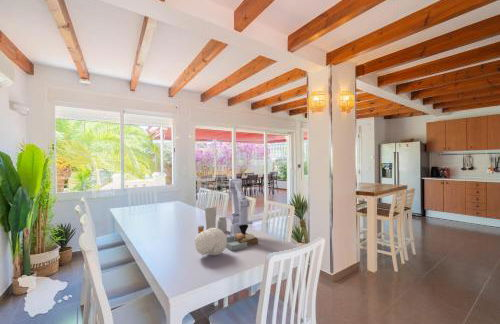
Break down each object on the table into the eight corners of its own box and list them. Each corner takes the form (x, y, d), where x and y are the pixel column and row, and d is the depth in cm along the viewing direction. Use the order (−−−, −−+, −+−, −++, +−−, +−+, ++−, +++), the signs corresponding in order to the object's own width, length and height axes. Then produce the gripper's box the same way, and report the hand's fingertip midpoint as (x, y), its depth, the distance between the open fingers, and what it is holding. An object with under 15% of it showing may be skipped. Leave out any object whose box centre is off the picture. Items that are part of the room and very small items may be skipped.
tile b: (245, 237, 165) (245, 234, 165) (250, 236, 168) (250, 233, 168) (248, 239, 161) (248, 236, 161) (254, 238, 164) (254, 235, 164)
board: (234, 240, 170) (234, 235, 170) (246, 238, 176) (246, 233, 176) (246, 246, 158) (246, 240, 158) (257, 243, 164) (257, 238, 164)
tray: (220, 244, 163) (220, 238, 163) (234, 240, 170) (234, 235, 170) (232, 251, 150) (232, 245, 150) (247, 247, 157) (247, 242, 157)
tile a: (235, 236, 167) (235, 233, 167) (240, 235, 169) (240, 232, 169) (238, 238, 163) (238, 235, 163) (243, 237, 166) (243, 234, 165)
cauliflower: (214, 248, 156) (214, 223, 156) (233, 255, 145) (233, 228, 145) (188, 257, 140) (189, 229, 140) (208, 266, 129) (208, 236, 129)
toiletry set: (223, 229, 198) (223, 205, 198) (228, 231, 192) (228, 206, 192) (195, 235, 182) (196, 208, 182) (200, 237, 176) (200, 210, 176)
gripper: (238, 218, 160) (237, 238, 160) (255, 215, 169) (254, 234, 169) (232, 216, 166) (232, 235, 166) (249, 214, 175) (249, 232, 175)
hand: (243, 235), depth 168 cm, fingers closed
